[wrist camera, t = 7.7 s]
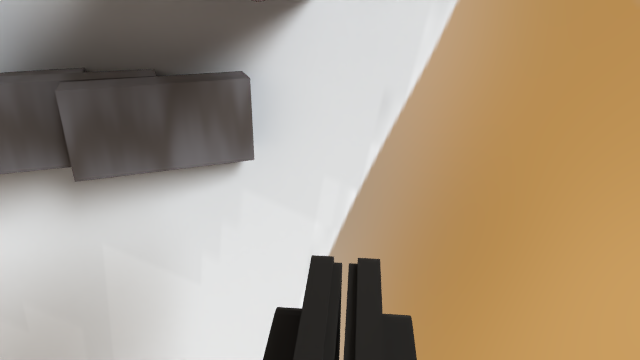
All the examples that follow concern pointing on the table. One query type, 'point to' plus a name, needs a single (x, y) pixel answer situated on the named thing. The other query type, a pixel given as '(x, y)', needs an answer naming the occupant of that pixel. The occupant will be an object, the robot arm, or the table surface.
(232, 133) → the domino
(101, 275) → the table surface
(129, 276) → the table surface
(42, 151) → the domino
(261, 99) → the table surface
